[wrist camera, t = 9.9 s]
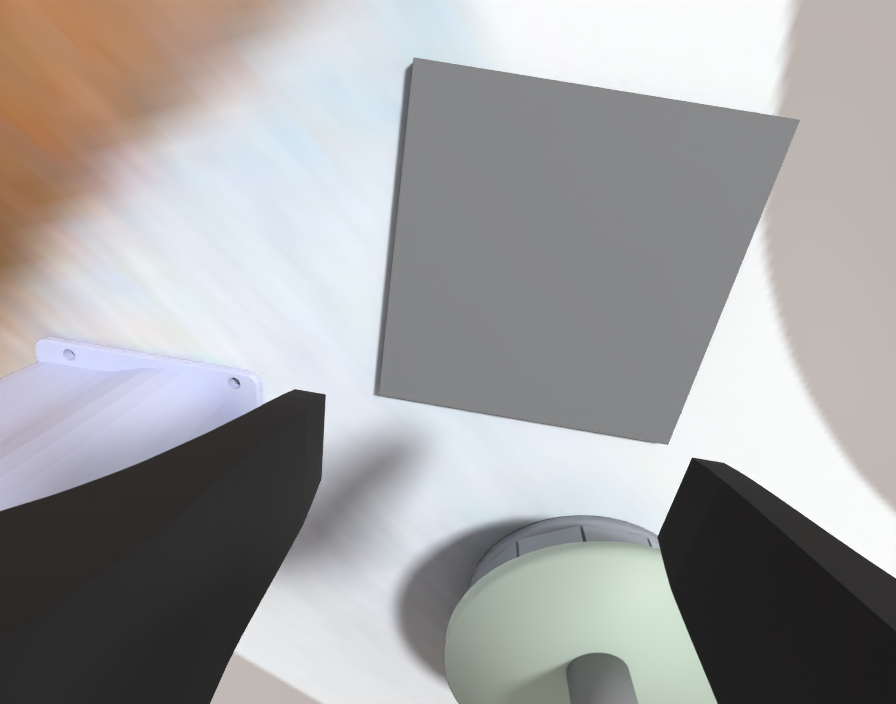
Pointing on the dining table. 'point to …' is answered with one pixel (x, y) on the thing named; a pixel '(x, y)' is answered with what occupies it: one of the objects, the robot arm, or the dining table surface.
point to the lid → (574, 632)
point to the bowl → (561, 538)
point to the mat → (567, 246)
